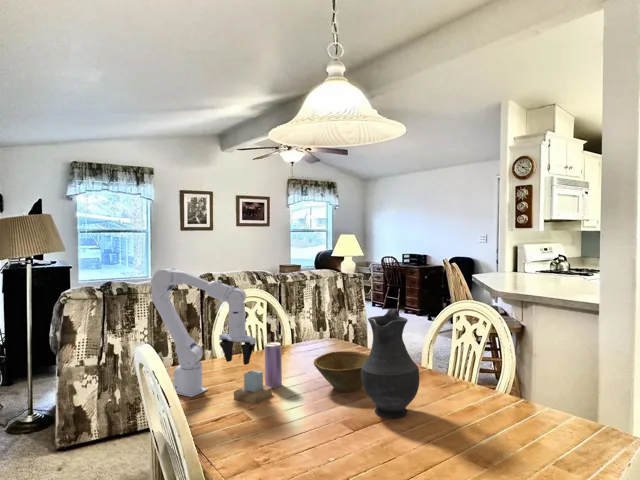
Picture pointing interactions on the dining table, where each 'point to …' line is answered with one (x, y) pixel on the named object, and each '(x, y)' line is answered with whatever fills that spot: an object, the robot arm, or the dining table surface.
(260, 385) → the pale grey-blue block
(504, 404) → the dining table surface
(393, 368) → the pitcher
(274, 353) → the beverage can
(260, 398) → the tan block
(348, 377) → the bowl
